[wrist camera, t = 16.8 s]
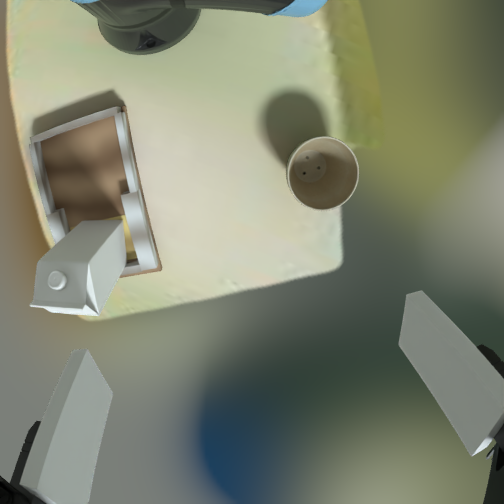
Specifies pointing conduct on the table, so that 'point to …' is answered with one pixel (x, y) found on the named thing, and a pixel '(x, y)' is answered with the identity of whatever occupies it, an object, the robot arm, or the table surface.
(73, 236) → the milk carton
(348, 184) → the flower pot
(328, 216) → the table surface
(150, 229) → the divided compartment tray
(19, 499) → the robot arm
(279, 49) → the table surface
